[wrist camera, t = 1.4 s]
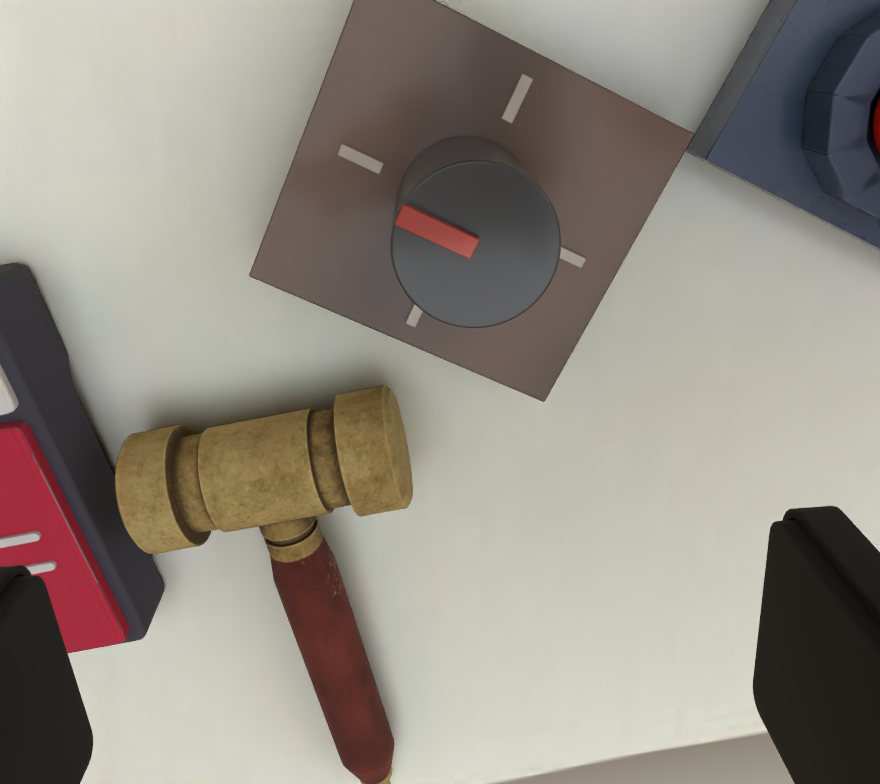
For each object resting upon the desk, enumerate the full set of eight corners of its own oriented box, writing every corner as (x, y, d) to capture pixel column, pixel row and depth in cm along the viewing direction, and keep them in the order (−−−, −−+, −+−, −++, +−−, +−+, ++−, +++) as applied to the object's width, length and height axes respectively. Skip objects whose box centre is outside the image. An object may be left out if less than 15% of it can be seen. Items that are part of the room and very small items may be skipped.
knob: (558, 172, 25) (595, 207, 20) (496, 295, 27) (514, 358, 22) (431, 110, 25) (434, 129, 19) (374, 241, 26) (362, 292, 21)
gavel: (489, 821, 36) (274, 855, 37) (482, 736, 40) (287, 768, 41) (385, 422, 27) (97, 477, 28) (388, 363, 31) (138, 412, 32)
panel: (668, 125, 28) (696, 134, 25) (533, 370, 31) (545, 404, 29) (372, -27, 26) (366, -36, 23) (264, 254, 29) (247, 277, 26)
